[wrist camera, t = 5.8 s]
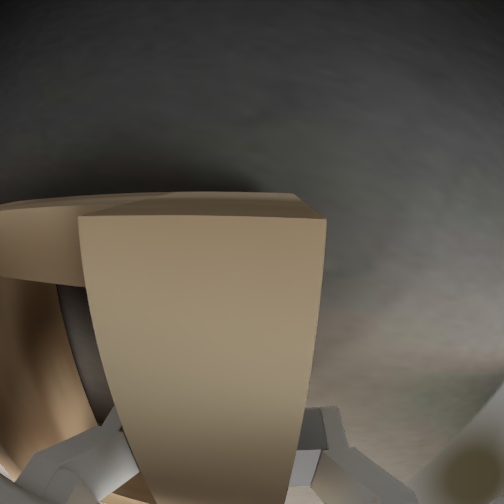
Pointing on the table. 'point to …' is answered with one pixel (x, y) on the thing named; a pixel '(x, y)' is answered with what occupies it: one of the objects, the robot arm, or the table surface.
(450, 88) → the table surface
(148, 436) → the open wooden frame
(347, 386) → the table surface
